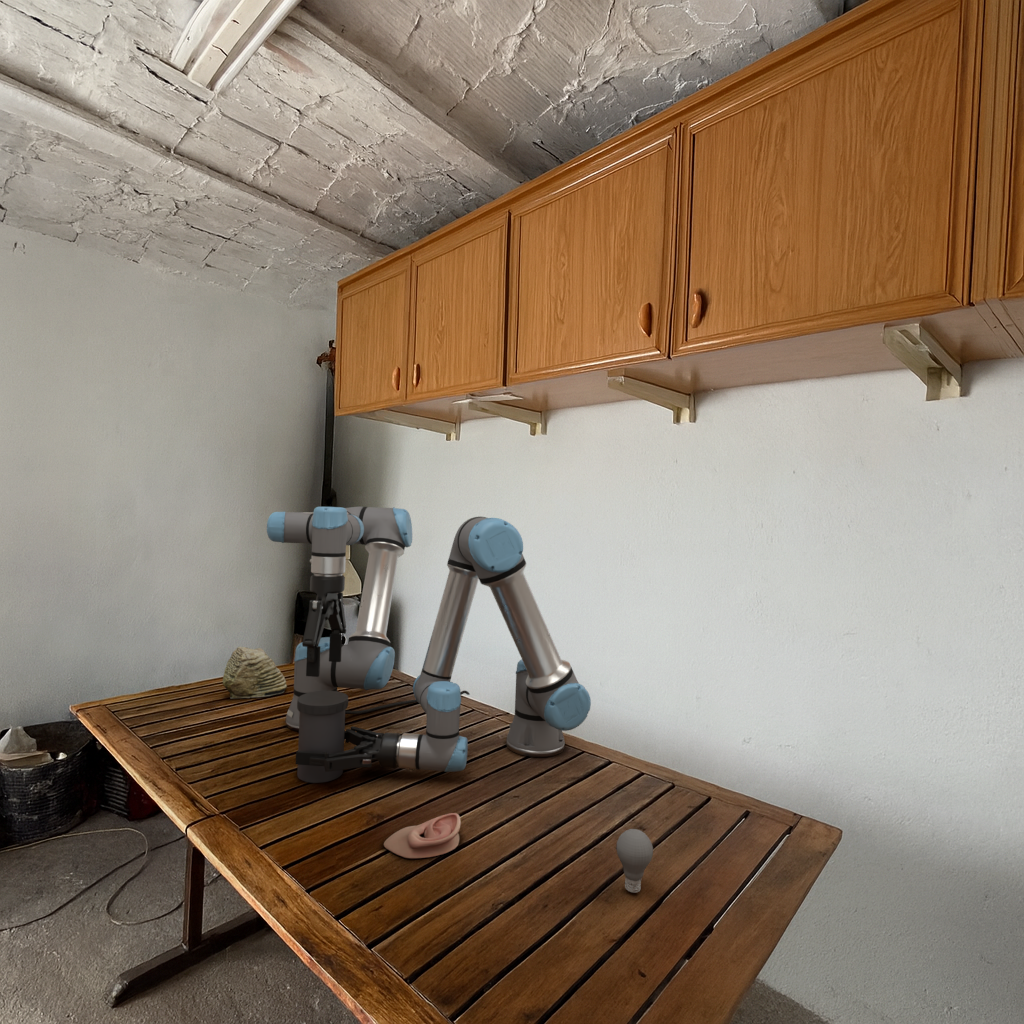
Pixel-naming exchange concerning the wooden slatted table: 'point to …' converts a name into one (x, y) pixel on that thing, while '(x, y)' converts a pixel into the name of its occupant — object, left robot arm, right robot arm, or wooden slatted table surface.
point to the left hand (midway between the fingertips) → (324, 668)
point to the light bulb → (634, 857)
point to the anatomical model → (426, 838)
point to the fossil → (252, 674)
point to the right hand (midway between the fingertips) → (307, 745)
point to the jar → (320, 743)
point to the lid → (322, 702)
